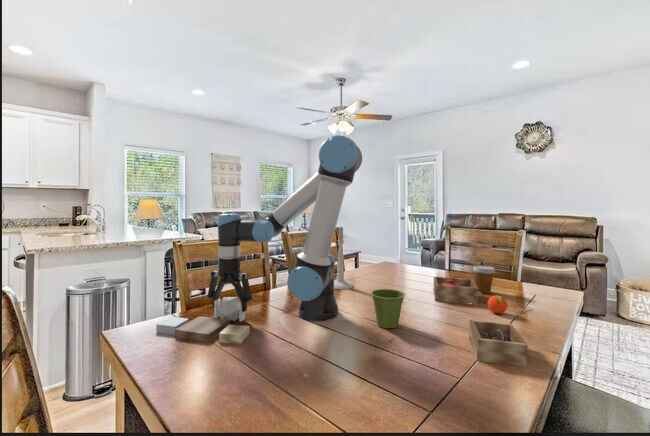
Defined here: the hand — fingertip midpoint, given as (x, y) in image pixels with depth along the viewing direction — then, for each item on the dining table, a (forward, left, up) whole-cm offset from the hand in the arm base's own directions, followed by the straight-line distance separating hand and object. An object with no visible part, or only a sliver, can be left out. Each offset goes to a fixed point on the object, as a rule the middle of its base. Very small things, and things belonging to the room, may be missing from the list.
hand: (229, 318), depth 119 cm
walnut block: (+2, +13, -1) cm, 13 cm away
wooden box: (-81, -52, 0) cm, 97 cm away
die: (0, 0, 0) cm, 0 cm away
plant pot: (-55, -11, 0) cm, 56 cm away
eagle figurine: (-88, 0, 0) cm, 88 cm away
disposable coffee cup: (-95, -65, 0) cm, 115 cm away
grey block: (+13, +14, -1) cm, 19 cm away
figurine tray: (-87, 0, 0) cm, 87 cm away
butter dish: (-79, -51, -1) cm, 95 cm away
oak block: (-10, +14, -1) cm, 17 cm away
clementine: (-95, -35, 0) cm, 101 cm away
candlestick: (-28, -55, 0) cm, 62 cm away
